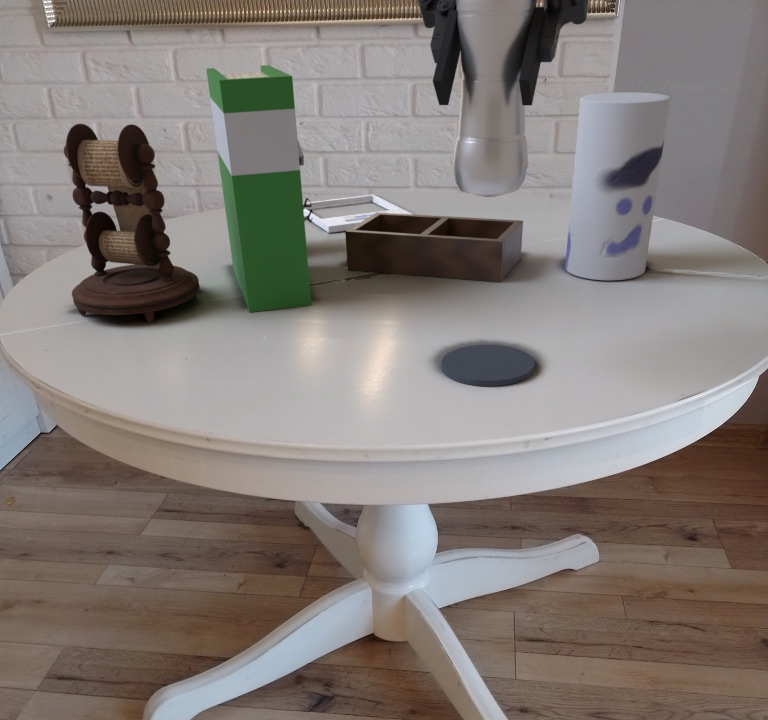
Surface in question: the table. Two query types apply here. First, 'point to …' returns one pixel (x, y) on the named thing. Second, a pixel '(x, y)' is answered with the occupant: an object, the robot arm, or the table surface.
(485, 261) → the wooden compartment box
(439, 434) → the table surface
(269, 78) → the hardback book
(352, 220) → the photo frame
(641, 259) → the container
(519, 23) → the silver bottle
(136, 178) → the scroll
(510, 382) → the coaster
